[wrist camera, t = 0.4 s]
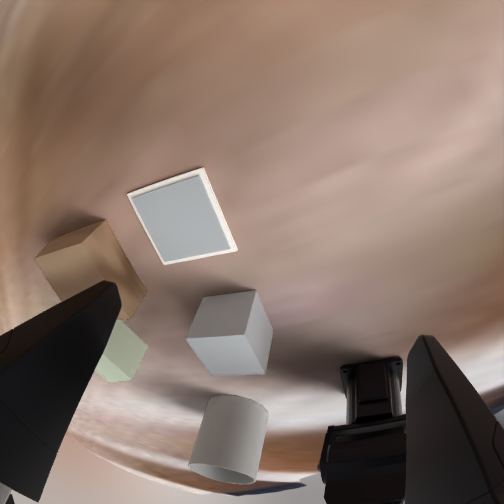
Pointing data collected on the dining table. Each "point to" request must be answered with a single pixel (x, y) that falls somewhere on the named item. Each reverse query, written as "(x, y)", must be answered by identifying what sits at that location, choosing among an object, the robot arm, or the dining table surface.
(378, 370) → the robot arm
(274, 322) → the dining table surface
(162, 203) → the tile
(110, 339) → the sage cube
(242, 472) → the cup
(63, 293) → the walnut base
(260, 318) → the grey cube
